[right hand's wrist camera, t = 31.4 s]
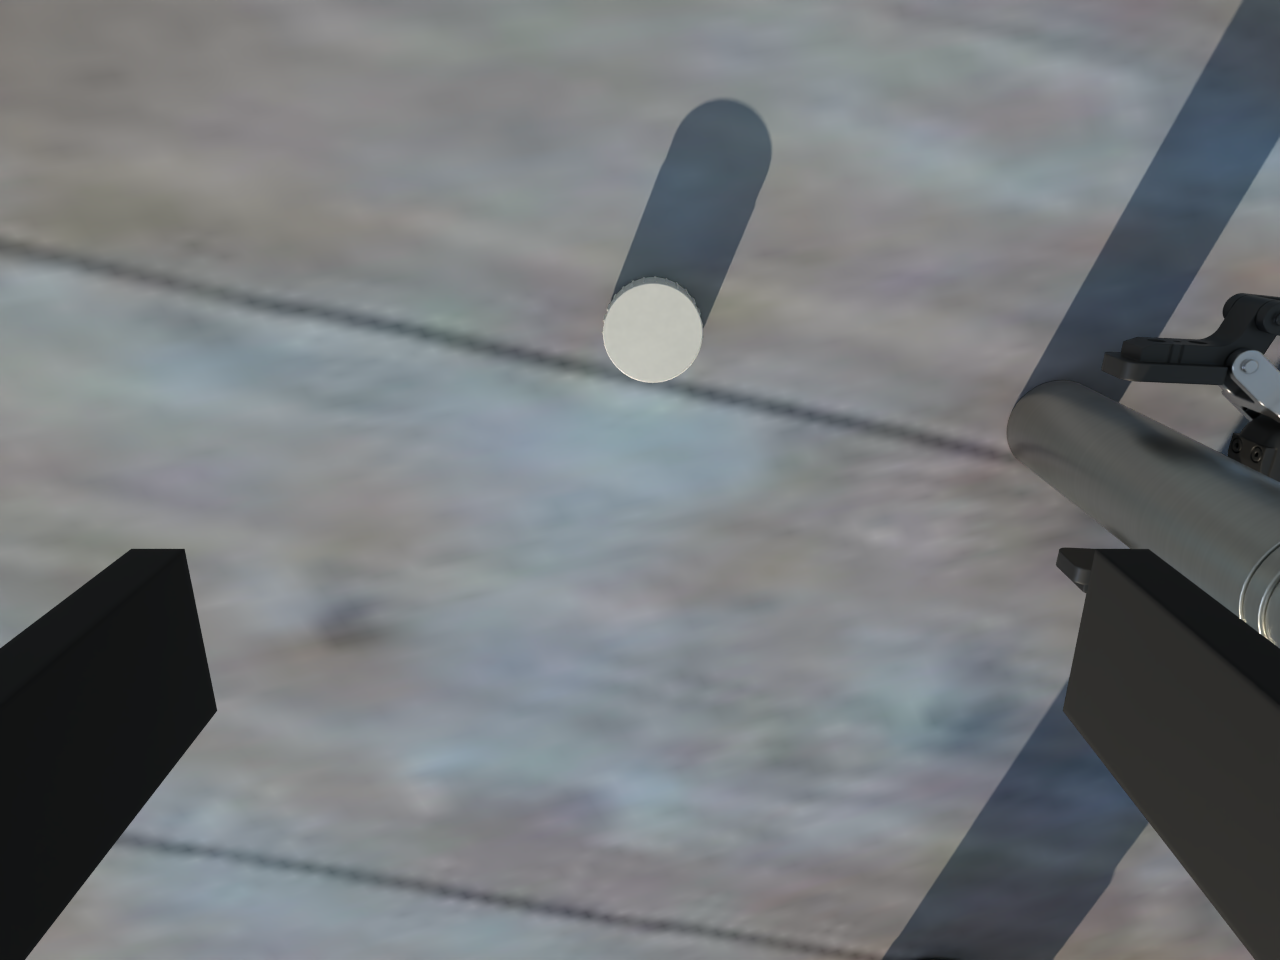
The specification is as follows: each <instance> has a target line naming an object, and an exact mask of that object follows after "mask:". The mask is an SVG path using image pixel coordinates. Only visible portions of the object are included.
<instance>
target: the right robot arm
mask: <svg viewBox="0 0 1280 960" xmlns="http://www.w3.org/2000/svg"><path fill="white" fill-rule="evenodd" d="M216 711H217V708H216V703H215V698H214V693H213V688H212V683H211V678H210V673H209V668H208V663H207V658H206V653H205V648H204V643H203V638H202V633H201V628H200V623H199V618H198V613H197V609H196V604H195V599H194V594H193V589H192V584H191V579H190V574H189V569H188V564H187V559H186V554H185V549H131V550H129V551H128V552H127V553H125V554H124V555H123V556H121V557H120V558H119V559H117V560H116V561H115V562H113V563H112V564H111V565H110V566H108V567H107V568H106V569H104V570H103V571H102V572H100V573H99V574H98V575H96V576H95V577H94V578H92V579H91V580H90V581H88V582H87V583H86V584H85V585H83V586H82V587H81V588H79V589H78V590H77V591H75V592H74V593H73V594H71V595H70V596H69V597H67V598H66V599H65V600H63V601H62V602H61V603H59V604H58V605H57V606H56V607H54V608H53V609H52V610H50V611H49V612H48V613H46V614H45V615H44V616H42V617H41V618H40V619H38V620H37V621H36V622H34V623H33V624H32V625H30V626H29V627H28V628H27V629H25V630H24V631H23V632H21V633H20V634H19V635H17V636H16V637H15V638H13V639H12V640H11V641H9V642H8V643H7V644H5V645H4V646H3V647H2V648H0V960H25V959H26V958H27V956H28V955H29V954H30V952H31V951H32V950H33V949H34V947H35V946H36V945H37V943H38V942H39V941H40V940H41V938H42V937H43V936H44V934H45V933H46V932H47V930H48V929H49V928H50V927H51V925H52V924H53V923H54V921H55V920H56V919H57V917H58V916H59V915H60V914H61V912H62V911H63V910H64V908H65V907H66V906H67V905H68V903H69V902H70V901H71V899H72V898H73V897H74V895H75V894H76V893H77V892H78V890H79V889H80V888H81V886H82V885H83V884H84V882H85V881H86V880H87V879H88V877H89V876H90V875H91V873H92V872H93V871H94V870H95V868H96V867H97V866H98V864H99V863H100V862H101V860H102V859H103V858H104V857H105V855H106V854H107V853H108V851H109V850H110V849H111V848H112V846H113V845H114V844H115V842H116V841H117V840H118V838H119V837H120V836H121V835H122V833H123V832H124V831H125V829H126V828H127V827H128V825H129V824H130V823H131V822H132V820H133V819H134V818H135V816H136V815H137V814H138V813H139V811H140V810H141V809H142V807H143V806H144V805H145V803H146V802H147V801H148V800H149V798H150V797H151V796H152V794H153V793H154V792H155V791H156V789H157V788H158V787H159V785H160V784H161V783H162V781H163V780H164V779H165V778H166V776H167V775H168V774H169V772H170V771H171V770H172V768H173V767H174V766H175V765H176V763H177V762H178V761H179V759H180V758H181V757H182V756H183V754H184V753H185V752H186V750H187V749H188V748H189V746H190V745H191V744H192V743H193V741H194V740H195V739H196V737H197V736H198V735H199V734H200V732H201V731H202V730H203V728H204V727H205V726H206V724H207V723H208V722H209V721H210V719H211V718H212V717H213V715H214V714H215V713H216ZM1063 711H1064V713H1065V714H1066V715H1067V717H1068V718H1069V719H1070V721H1071V722H1072V723H1073V724H1074V726H1075V727H1076V728H1077V730H1078V731H1079V732H1080V734H1081V735H1082V736H1083V737H1084V739H1085V740H1086V741H1087V743H1088V744H1089V745H1090V746H1091V748H1092V749H1093V750H1094V752H1095V753H1096V754H1097V756H1098V757H1099V758H1100V759H1101V761H1102V762H1103V763H1104V765H1105V766H1106V767H1107V769H1108V770H1109V771H1110V772H1111V774H1112V775H1113V776H1114V778H1115V779H1116V780H1117V781H1118V783H1119V784H1120V785H1121V787H1122V788H1123V789H1124V791H1125V792H1126V793H1127V794H1128V796H1129V797H1130V798H1131V800H1132V801H1133V802H1134V803H1135V805H1136V806H1137V807H1138V809H1139V810H1140V811H1141V813H1142V814H1143V815H1144V816H1145V818H1146V819H1147V820H1148V822H1149V823H1150V824H1151V826H1152V827H1153V828H1154V829H1155V831H1156V832H1157V833H1158V835H1159V836H1160V837H1161V838H1162V840H1163V841H1164V842H1165V844H1166V845H1167V846H1168V848H1169V849H1170V850H1171V851H1172V853H1173V854H1174V855H1175V857H1176V858H1177V859H1178V860H1179V862H1180V863H1181V864H1182V866H1183V867H1184V868H1185V870H1186V871H1187V872H1188V873H1189V875H1190V876H1191V877H1192V879H1193V880H1194V881H1195V883H1196V884H1197V885H1198V886H1199V888H1200V889H1201V890H1202V892H1203V893H1204V894H1205V895H1206V897H1207V898H1208V899H1209V901H1210V902H1211V903H1212V905H1213V906H1214V907H1215V908H1216V910H1217V911H1218V912H1219V914H1220V915H1221V916H1222V917H1223V919H1224V920H1225V921H1226V923H1227V924H1228V925H1229V927H1230V928H1231V929H1232V930H1233V932H1234V933H1235V934H1236V936H1237V937H1238V938H1239V940H1240V941H1241V942H1242V943H1243V945H1244V946H1245V947H1246V949H1247V950H1248V951H1249V952H1250V954H1251V955H1252V956H1253V958H1254V959H1255V960H1280V648H1278V647H1277V646H1276V645H1275V644H1273V643H1272V642H1271V641H1269V640H1268V639H1267V638H1265V637H1264V636H1263V635H1261V634H1260V633H1259V632H1257V631H1256V630H1255V629H1253V628H1252V627H1251V626H1250V625H1248V624H1247V623H1246V622H1244V621H1243V620H1242V619H1240V618H1239V617H1238V616H1236V615H1235V614H1234V613H1232V612H1231V611H1230V610H1228V609H1227V608H1226V607H1224V606H1223V605H1222V604H1221V603H1219V602H1218V601H1217V600H1215V599H1214V598H1213V597H1211V596H1210V595H1209V594H1207V593H1206V592H1205V591H1203V590H1202V589H1201V588H1199V587H1198V586H1197V585H1195V584H1194V583H1193V582H1192V581H1190V580H1189V579H1188V578H1186V577H1185V576H1184V575H1182V574H1181V573H1180V572H1178V571H1177V570H1176V569H1174V568H1173V567H1172V566H1170V565H1169V564H1168V563H1167V562H1165V561H1164V560H1163V559H1161V558H1160V557H1159V556H1157V555H1156V554H1155V553H1153V552H1152V551H1151V550H1149V549H1095V554H1094V559H1093V564H1092V569H1091V574H1090V579H1089V584H1088V589H1087V594H1086V599H1085V604H1084V609H1083V613H1082V618H1081V623H1080V628H1079V633H1078V638H1077V643H1076V648H1075V653H1074V658H1073V663H1072V668H1071V673H1070V678H1069V683H1068V688H1067V693H1066V698H1065V703H1064V708H1063Z"/></svg>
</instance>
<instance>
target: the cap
mask: <svg viewBox="0 0 1280 960" xmlns="http://www.w3.org/2000/svg"><path fill="white" fill-rule="evenodd" d="M700 315H701V313H700V310H699V308H697V306H696V303H695V300H694V298H692V297H691V296H690V295H689V293H688V292H687V289H684V288H683V287H681V286H680V285H678V283H677V282H676V283H675V282H673V281H671V280H668V279H667V278H665V279H664V278H660V277H656V276H654V277H647V278H645V277H643V278H642V279H638V280H635V281H634V280H632V282H631V283H629V284H628V285H626V286H625V287H624V286H623V287H622V289H621V290H620V291H619V292H618V293H617V294H615V295H614V298H613V300H612V302H611V304H610V303H609V305H608V308H607V314H605V317H604V320H603V322H604V327H603V331H602V334H603V338H604V345H605V348H606V351H607V353H608V355H609V357H610V359H611V360H612V362H613V363H614V364H615V365H616V367H617V368H618V369H619V370H621V371H622V372H623V373H624V374H626V375H627V376H629V377H631V378H633V379H636V380H639V381H643V382H662V381H667V380H670V379H672V378H674V377H676V376H678V375H680V374H681V373H683V372H684V371H685V370H686V369H688V367H689V366H690V365H691V364H692V363H693V361H694V360H695V359H696V357H697V355H698V353H699V350H700V348H701V344H702V338H703V322H702V320H701V318H700Z"/></svg>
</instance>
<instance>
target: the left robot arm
mask: <svg viewBox="0 0 1280 960" xmlns="http://www.w3.org/2000/svg"><path fill="white" fill-rule="evenodd" d="M1223 317H1224V321H1223V322H1222V324H1221V325H1220V327H1219V328H1218V330H1217V331H1216V332H1215V333H1214V334H1212V335H1211V336H1209V337H1207V338H1204V339H1199V340H1195V339H1172V338H1150V337H1136V338H1133V339H1130V340H1126V341H1123V346H1122V350H1121V352H1105V356H1104V360H1103V364H1102V369H1101V370H1102V371H1104V372H1106V373H1108V374H1111V375H1113V376H1115V377H1117V378H1120V379H1124V380H1129V381H1139V382H1162V383H1184V384H1207V385H1218V386H1219V387H1220V388H1221V389H1222V390H1223V391H1222V394H1223V395H1224V396H1225V397H1226V398H1227V399H1228V400H1229V401H1230V402H1231V403H1232V404H1233V405H1234V406H1235V407H1236V408H1237V409H1238V410H1239V411H1240V412H1241V413H1242V414H1243V415H1244V416H1245V417H1246V418H1247V419H1248V420H1249V421H1250V422H1249V423H1248V424H1247V425H1246V426H1245V427H1244V429H1243V430H1242V431H1241V433H1233V436H1232V439H1231V442H1230V446H1229V449H1228V457H1229V458H1232V459H1234V460H1236V461H1238V462H1240V463H1242V464H1244V465H1246V466H1248V467H1250V468H1252V469H1254V470H1256V471H1258V472H1260V473H1262V474H1264V475H1266V476H1268V477H1270V478H1272V479H1274V480H1276V481H1278V482H1280V371H1279V370H1278V369H1277V368H1276V367H1275V366H1274V365H1273V364H1272V363H1271V362H1270V361H1269V360H1268V359H1267V358H1266V357H1265V356H1264V353H1265V352H1266V351H1267V349H1268V348H1269V346H1270V345H1271V343H1272V342H1273V340H1274V339H1275V337H1276V336H1277V335H1279V336H1280V297H1273V296H1264V295H1254V294H1245V293H1240V294H1236V295H1234V296H1232V297H1231V298H1229V299H1228V300H1227V302H1226V303H1225V305H1224V307H1223ZM1094 554H1095V549H1084V548H1061V549H1059V553H1058V558H1057V562H1056V566H1057V567H1058V568H1059V569H1060V570H1061V571H1062V572H1063V573H1064V574H1065V575H1066V576H1067V577H1068V578H1069V579H1071V580H1072V581H1073V582H1074V583H1075V584H1076V585H1077V586H1078V587H1079V588H1080V589H1081V590H1082V591H1083V592H1085V593H1087V589H1088V584H1089V579H1090V574H1091V569H1092V564H1093V559H1094Z"/></svg>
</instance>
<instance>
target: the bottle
mask: <svg viewBox="0 0 1280 960" xmlns="http://www.w3.org/2000/svg"><path fill="white" fill-rule="evenodd" d="M1007 440H1008V444H1009V447H1010V449H1011V451H1012V453H1013V455H1014V456H1015V457H1016V458H1017V459H1018V460H1019V461H1020V462H1021V463H1022V464H1024V465H1025V466H1026V467H1027V468H1029V469H1030V470H1031V471H1033V472H1034V473H1035V474H1036V475H1038V476H1039V477H1040V478H1041V479H1043V480H1044V481H1045V482H1047V483H1048V484H1049V485H1050V486H1052V487H1053V488H1054V489H1055V490H1057V491H1058V492H1059V493H1061V494H1062V495H1063V496H1064V497H1066V498H1067V499H1068V500H1069V501H1071V502H1072V503H1073V504H1075V505H1076V506H1077V507H1078V508H1080V509H1081V510H1082V511H1083V512H1085V513H1086V514H1087V515H1089V516H1090V517H1091V518H1092V519H1094V520H1095V521H1096V522H1097V523H1099V524H1100V525H1101V526H1103V527H1104V528H1105V529H1106V530H1108V531H1109V532H1110V533H1111V534H1113V535H1114V536H1115V537H1117V538H1118V539H1119V540H1120V541H1122V542H1123V543H1124V544H1125V545H1127V546H1128V547H1129V548H1131V549H1149V550H1151V551H1152V552H1153V553H1155V554H1156V555H1157V556H1159V557H1160V558H1161V559H1163V560H1164V561H1165V562H1167V563H1168V564H1169V565H1170V566H1172V567H1173V568H1174V569H1176V570H1177V571H1178V572H1180V573H1181V574H1182V575H1184V576H1185V577H1186V578H1188V579H1189V580H1190V581H1192V582H1193V583H1194V584H1195V585H1197V586H1198V587H1199V588H1201V589H1202V590H1203V591H1205V592H1206V593H1207V594H1209V595H1210V596H1211V597H1213V598H1214V599H1215V600H1217V601H1218V602H1219V603H1221V604H1222V605H1223V606H1224V607H1226V608H1227V609H1228V610H1230V611H1231V612H1232V613H1234V614H1235V615H1236V616H1238V617H1239V618H1240V619H1242V620H1243V621H1244V622H1246V623H1247V624H1248V625H1250V626H1251V627H1252V628H1253V629H1255V630H1256V631H1257V632H1259V633H1260V634H1261V635H1263V636H1264V637H1265V638H1267V639H1268V640H1269V641H1271V642H1272V643H1273V644H1275V645H1276V646H1277V647H1278V648H1280V482H1278V481H1276V480H1274V479H1272V478H1270V477H1268V476H1266V475H1264V474H1262V473H1260V472H1258V471H1256V470H1254V469H1252V468H1250V467H1248V466H1246V465H1244V464H1242V463H1240V462H1238V461H1236V460H1234V459H1232V458H1229V457H1227V456H1225V455H1223V454H1221V453H1219V452H1217V451H1215V450H1213V449H1211V448H1209V447H1207V446H1205V445H1203V444H1201V443H1199V442H1197V441H1195V440H1193V439H1191V438H1189V437H1187V436H1185V435H1183V434H1181V433H1179V432H1177V431H1175V430H1173V429H1171V428H1169V427H1167V426H1165V425H1163V424H1161V423H1159V422H1157V421H1155V420H1153V419H1151V418H1149V417H1147V416H1145V415H1142V414H1140V413H1138V412H1136V411H1134V410H1132V409H1130V408H1128V407H1126V406H1124V405H1122V404H1120V403H1118V402H1116V401H1114V400H1112V399H1110V398H1108V397H1106V396H1104V395H1102V394H1100V393H1098V392H1096V391H1094V390H1092V389H1090V388H1088V387H1086V386H1084V385H1082V384H1080V383H1077V382H1074V381H1068V380H1057V381H1051V382H1047V383H1044V384H1041V385H1039V386H1037V387H1035V388H1034V389H1032V390H1030V391H1029V392H1028V393H1027V394H1025V395H1024V396H1023V397H1022V398H1021V399H1020V400H1019V402H1018V403H1017V404H1016V406H1015V407H1014V409H1013V411H1012V413H1011V415H1010V417H1009V420H1008V425H1007Z"/></svg>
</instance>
